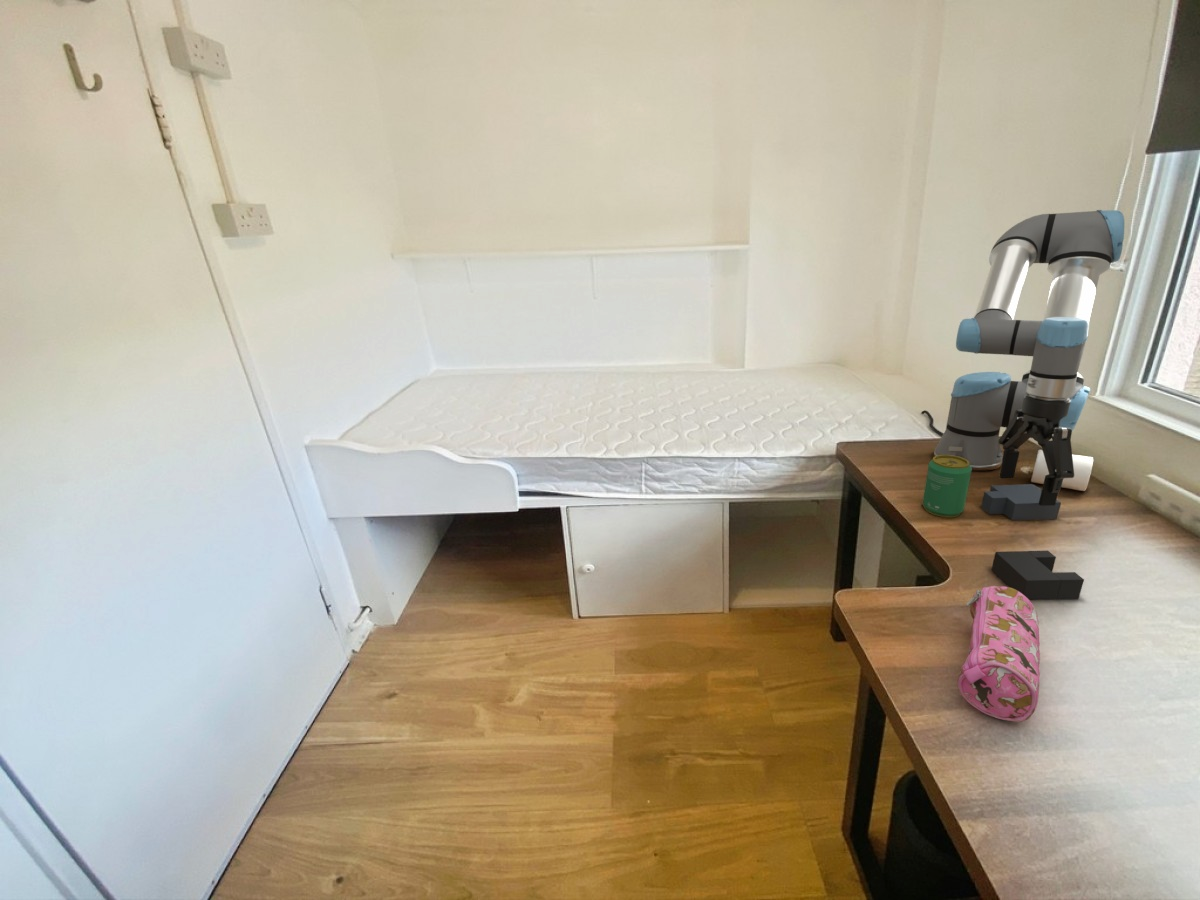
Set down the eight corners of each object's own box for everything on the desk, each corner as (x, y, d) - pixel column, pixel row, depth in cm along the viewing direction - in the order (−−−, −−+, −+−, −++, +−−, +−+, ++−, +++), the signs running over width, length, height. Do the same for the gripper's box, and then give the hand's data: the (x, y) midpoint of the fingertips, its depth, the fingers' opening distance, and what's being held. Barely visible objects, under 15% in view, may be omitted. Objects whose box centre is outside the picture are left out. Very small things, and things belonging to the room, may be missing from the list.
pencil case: (961, 619, 91) (971, 574, 87) (1032, 638, 86) (1044, 591, 82) (950, 710, 75) (961, 658, 71) (1036, 740, 70) (1052, 686, 66)
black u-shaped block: (991, 569, 102) (995, 551, 101) (1042, 569, 102) (1047, 550, 100) (1021, 600, 94) (1026, 580, 93) (1078, 599, 93) (1084, 579, 92)
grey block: (973, 501, 126) (976, 485, 125) (1029, 499, 125) (1033, 483, 124) (996, 520, 118) (1000, 504, 116) (1056, 519, 117) (1061, 502, 115)
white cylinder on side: (1084, 496, 125) (1093, 464, 122) (1029, 486, 131) (1036, 455, 128) (1085, 477, 133) (1094, 447, 130) (1034, 469, 139) (1041, 439, 136)
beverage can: (971, 513, 121) (981, 463, 117) (944, 521, 119) (953, 471, 115) (940, 498, 129) (948, 451, 124) (913, 506, 126) (921, 458, 122)
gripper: (992, 381, 124) (975, 468, 131) (1072, 415, 101) (1045, 518, 108) (1027, 380, 123) (1008, 467, 131) (1116, 413, 100) (1087, 517, 107)
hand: (1025, 490), depth 119 cm, fingers open, 13 cm apart
